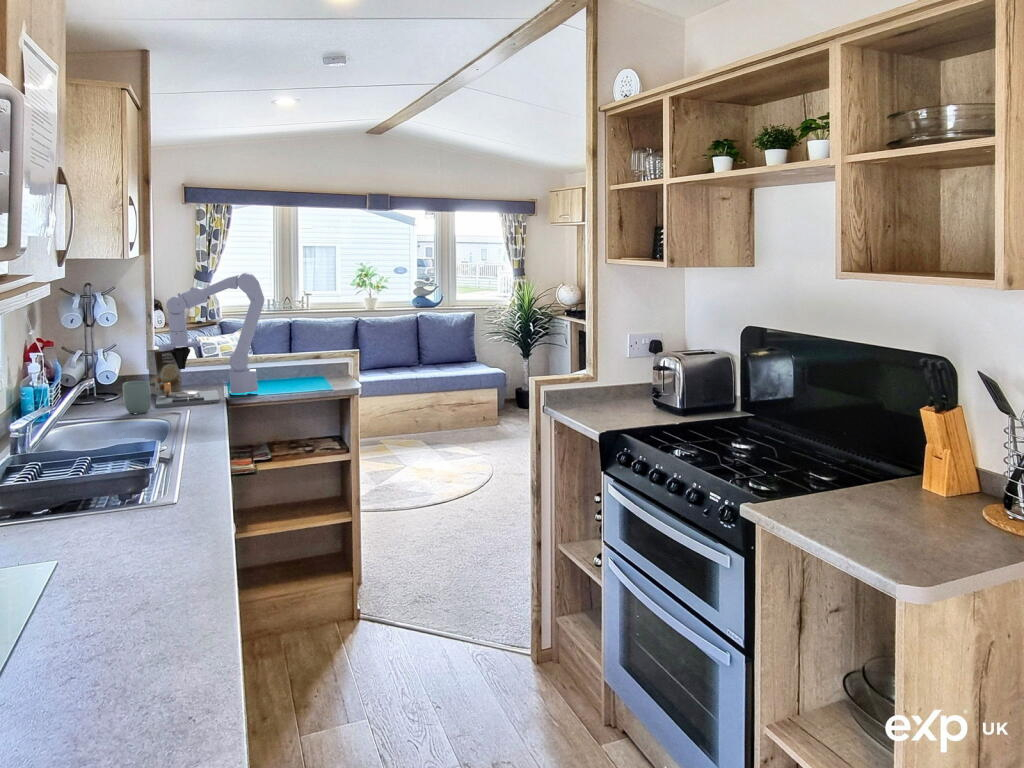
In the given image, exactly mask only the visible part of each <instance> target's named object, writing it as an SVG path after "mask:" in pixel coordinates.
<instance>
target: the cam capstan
mask: <svg viewBox="0 0 1024 768" xmlns="http://www.w3.org/2000/svg"><path fill="white" fill-rule="evenodd" d="M164 387H165V396H175V397H176V398H192V397H194V395H198V396H200V390H182V391H181V392H171V384H170V383H164Z"/></svg>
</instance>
